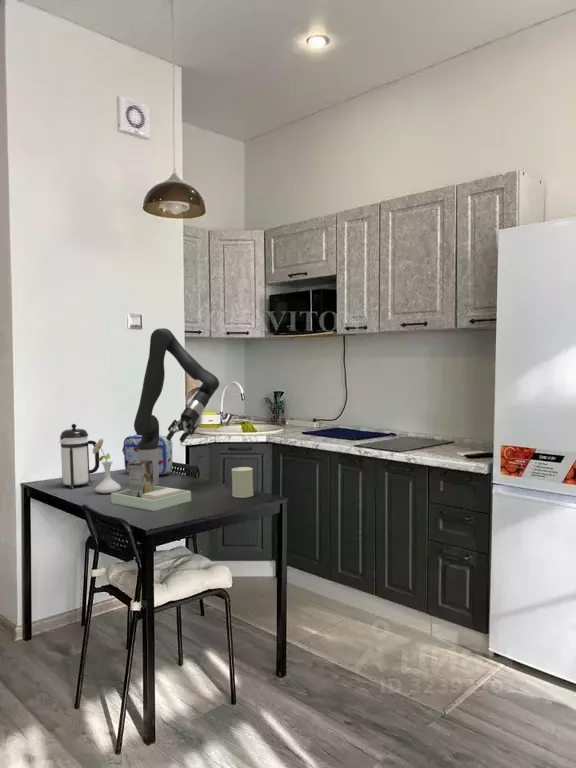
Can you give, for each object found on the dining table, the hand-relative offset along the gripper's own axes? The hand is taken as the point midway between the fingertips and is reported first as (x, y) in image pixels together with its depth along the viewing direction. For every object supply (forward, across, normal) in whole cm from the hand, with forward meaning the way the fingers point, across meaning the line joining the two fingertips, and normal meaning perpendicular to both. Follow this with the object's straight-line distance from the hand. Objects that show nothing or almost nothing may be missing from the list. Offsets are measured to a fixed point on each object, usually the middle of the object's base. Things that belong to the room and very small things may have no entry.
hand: (174, 440), depth 275 cm
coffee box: (+30, +1, +3) cm, 30 cm away
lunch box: (0, -48, +35) cm, 59 cm away
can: (+8, +28, +26) cm, 39 cm away
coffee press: (+26, -56, +10) cm, 62 cm away
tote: (+30, +6, +3) cm, 31 cm away
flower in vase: (+28, -30, +7) cm, 41 cm away
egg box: (+30, +13, +2) cm, 33 cm away
